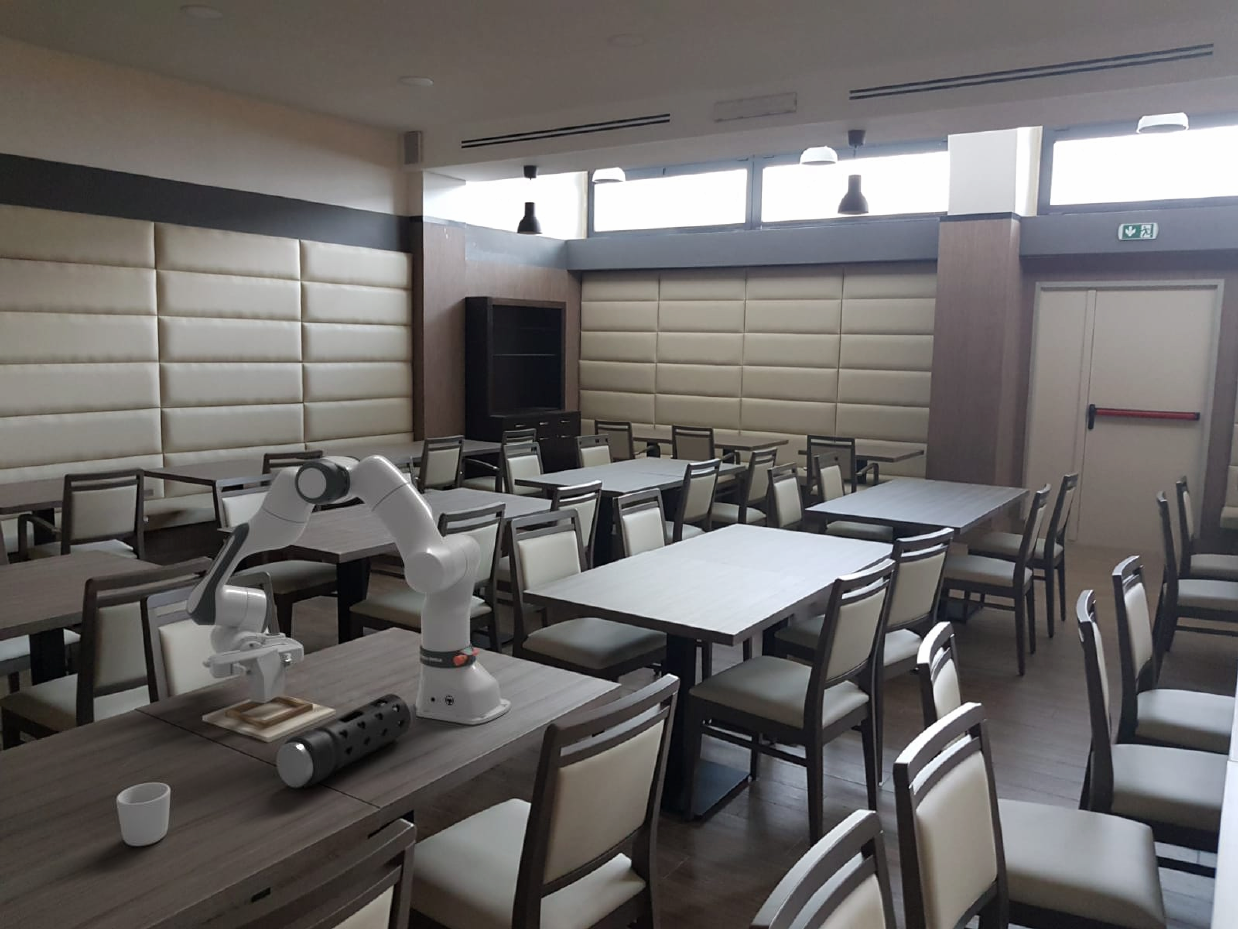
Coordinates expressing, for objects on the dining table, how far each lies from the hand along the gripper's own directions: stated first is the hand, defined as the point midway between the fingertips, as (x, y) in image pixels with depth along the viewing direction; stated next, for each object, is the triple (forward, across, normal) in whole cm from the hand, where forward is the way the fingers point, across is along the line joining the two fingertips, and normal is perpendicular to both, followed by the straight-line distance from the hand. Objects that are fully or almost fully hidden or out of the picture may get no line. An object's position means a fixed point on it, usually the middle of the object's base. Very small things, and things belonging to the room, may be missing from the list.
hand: (268, 668), depth 201 cm
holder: (-1, 0, +12) cm, 12 cm away
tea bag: (-1, 0, +7) cm, 7 cm away
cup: (+37, -34, +12) cm, 51 cm away
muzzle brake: (+33, +3, +12) cm, 35 cm away
